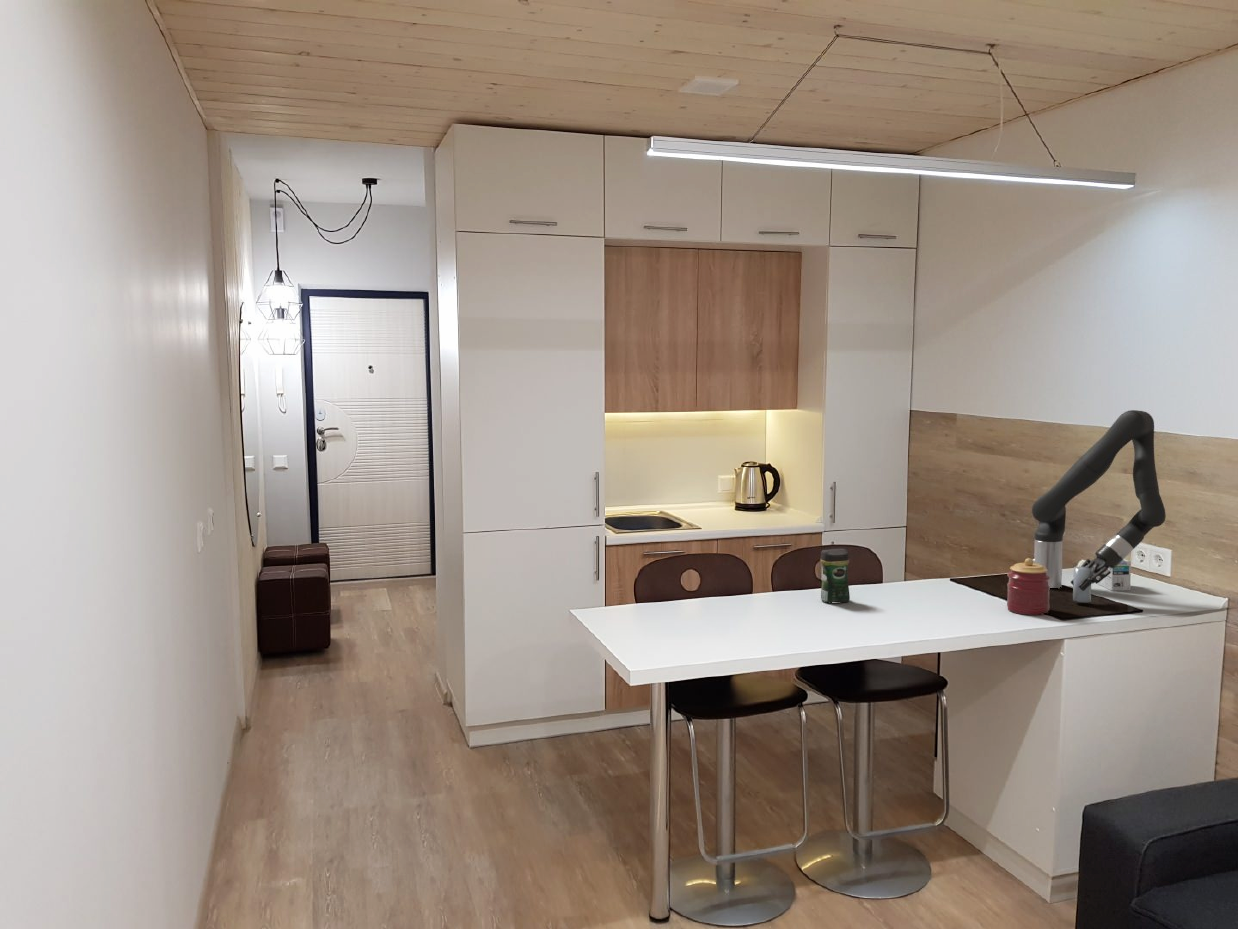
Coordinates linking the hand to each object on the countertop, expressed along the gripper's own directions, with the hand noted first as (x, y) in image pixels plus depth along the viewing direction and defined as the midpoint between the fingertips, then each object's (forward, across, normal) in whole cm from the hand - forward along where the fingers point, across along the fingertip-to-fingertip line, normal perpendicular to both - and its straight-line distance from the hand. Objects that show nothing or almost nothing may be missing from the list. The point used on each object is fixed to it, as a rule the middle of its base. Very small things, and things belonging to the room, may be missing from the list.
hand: (1076, 586), depth 314 cm
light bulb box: (-12, -23, +21) cm, 33 cm away
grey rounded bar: (+2, 0, +5) cm, 5 cm away
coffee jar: (+61, -8, -51) cm, 80 cm away
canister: (+18, +8, -9) cm, 21 cm away
